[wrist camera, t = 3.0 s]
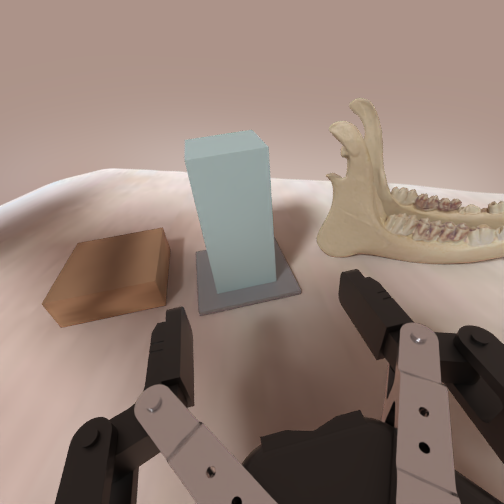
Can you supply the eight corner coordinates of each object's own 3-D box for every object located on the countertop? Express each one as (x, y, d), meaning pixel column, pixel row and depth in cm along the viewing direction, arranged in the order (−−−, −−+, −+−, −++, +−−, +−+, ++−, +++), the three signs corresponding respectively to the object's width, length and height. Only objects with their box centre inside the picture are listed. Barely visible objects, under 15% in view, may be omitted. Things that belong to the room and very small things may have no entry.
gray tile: (199, 315, 23) (198, 312, 23) (196, 254, 30) (195, 251, 30) (300, 293, 24) (301, 290, 23) (274, 239, 31) (274, 236, 31)
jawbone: (312, 255, 28) (328, 105, 20) (332, 217, 35) (349, 97, 28) (673, 333, 18) (946, 106, 11) (596, 259, 26) (728, 93, 18)
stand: (61, 327, 23) (41, 303, 22) (90, 264, 30) (77, 243, 29) (165, 305, 24) (155, 280, 22) (170, 249, 31) (162, 227, 30)
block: (217, 293, 24) (184, 160, 17) (212, 258, 29) (184, 140, 21) (276, 281, 25) (268, 146, 18) (262, 248, 29) (252, 129, 22)
